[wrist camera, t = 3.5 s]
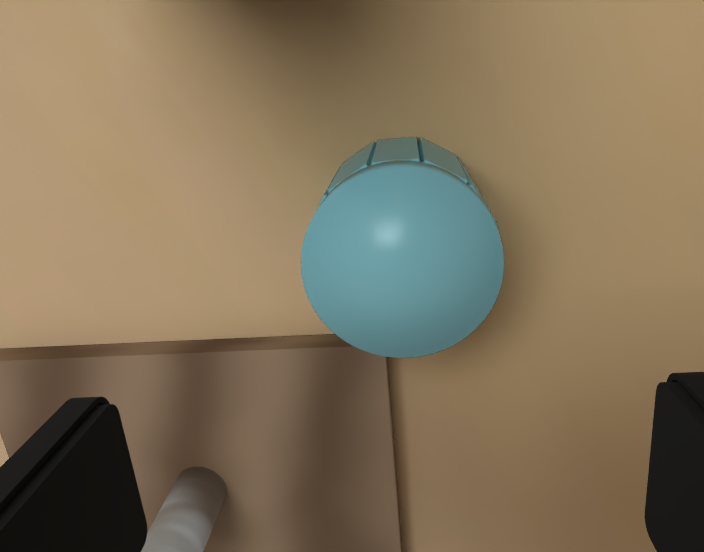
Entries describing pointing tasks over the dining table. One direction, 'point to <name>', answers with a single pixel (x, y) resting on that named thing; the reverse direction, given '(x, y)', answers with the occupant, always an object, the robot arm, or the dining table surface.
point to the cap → (402, 251)
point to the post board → (233, 437)
